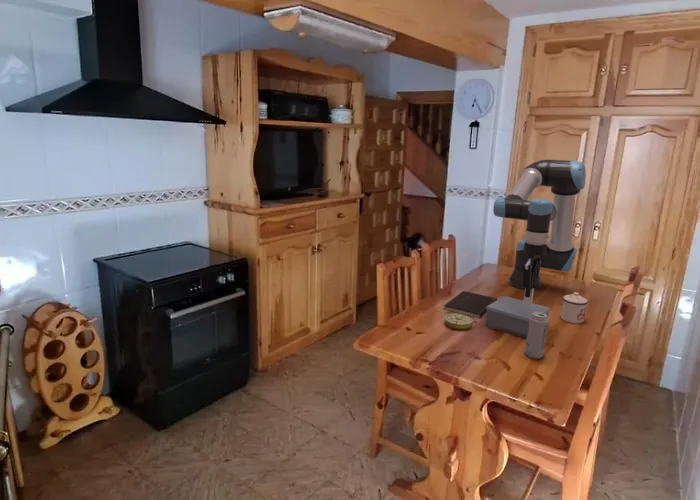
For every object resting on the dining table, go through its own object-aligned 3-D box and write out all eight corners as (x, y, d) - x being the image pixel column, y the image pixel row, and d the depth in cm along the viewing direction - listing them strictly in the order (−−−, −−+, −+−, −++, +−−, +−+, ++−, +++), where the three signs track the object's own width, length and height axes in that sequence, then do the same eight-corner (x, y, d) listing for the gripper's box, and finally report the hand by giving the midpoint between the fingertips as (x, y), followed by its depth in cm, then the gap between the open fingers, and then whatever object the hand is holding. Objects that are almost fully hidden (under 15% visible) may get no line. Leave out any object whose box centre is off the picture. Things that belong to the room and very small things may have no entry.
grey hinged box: (502, 314, 189) (504, 299, 188) (546, 327, 178) (548, 310, 176) (485, 325, 178) (487, 309, 176) (531, 340, 166) (533, 322, 164)
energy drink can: (526, 349, 159) (531, 309, 155) (544, 354, 156) (550, 313, 152) (523, 356, 154) (528, 315, 150) (542, 361, 151) (548, 319, 147)
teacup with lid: (580, 326, 180) (585, 298, 177) (556, 319, 186) (560, 292, 183) (589, 317, 188) (593, 291, 185) (566, 311, 194) (570, 285, 191)
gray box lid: (503, 298, 188) (504, 295, 187) (549, 310, 176) (549, 307, 176) (486, 309, 176) (486, 306, 175) (534, 323, 164) (534, 320, 164)
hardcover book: (443, 310, 194) (443, 305, 193) (462, 295, 212) (463, 290, 211) (480, 319, 185) (480, 314, 184) (497, 303, 203) (497, 298, 203)
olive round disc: (461, 319, 184) (462, 310, 183) (477, 329, 175) (478, 320, 174) (439, 322, 181) (440, 313, 180) (454, 333, 171) (455, 323, 170)
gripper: (539, 247, 155) (531, 312, 161) (552, 241, 164) (543, 302, 170) (518, 243, 159) (510, 306, 165) (531, 238, 169) (524, 297, 175)
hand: (527, 304), depth 168 cm, fingers closed
